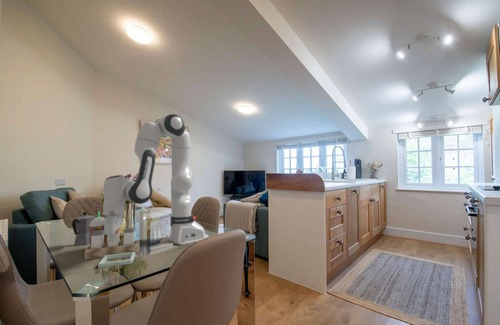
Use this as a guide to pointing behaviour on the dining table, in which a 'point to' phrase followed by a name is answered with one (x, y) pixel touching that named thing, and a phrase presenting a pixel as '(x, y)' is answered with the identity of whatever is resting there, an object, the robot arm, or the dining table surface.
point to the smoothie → (97, 226)
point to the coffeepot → (82, 229)
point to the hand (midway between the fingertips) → (113, 239)
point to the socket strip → (111, 250)
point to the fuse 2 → (129, 236)
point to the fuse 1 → (97, 239)
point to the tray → (116, 263)
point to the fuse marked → (117, 239)
